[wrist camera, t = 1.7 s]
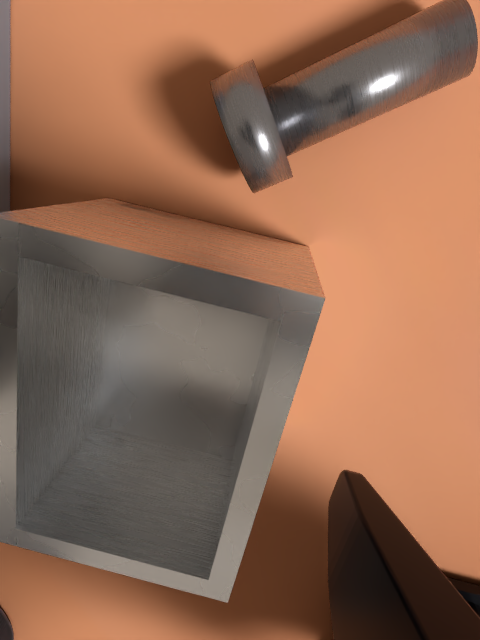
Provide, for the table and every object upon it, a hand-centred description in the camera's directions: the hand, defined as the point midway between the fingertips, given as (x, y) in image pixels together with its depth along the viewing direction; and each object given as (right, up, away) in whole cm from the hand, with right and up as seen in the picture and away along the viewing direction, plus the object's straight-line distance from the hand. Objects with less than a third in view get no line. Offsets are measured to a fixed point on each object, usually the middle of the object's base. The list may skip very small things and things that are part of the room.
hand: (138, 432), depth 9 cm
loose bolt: (+5, +8, +1) cm, 10 cm away
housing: (0, +2, +4) cm, 5 cm away
